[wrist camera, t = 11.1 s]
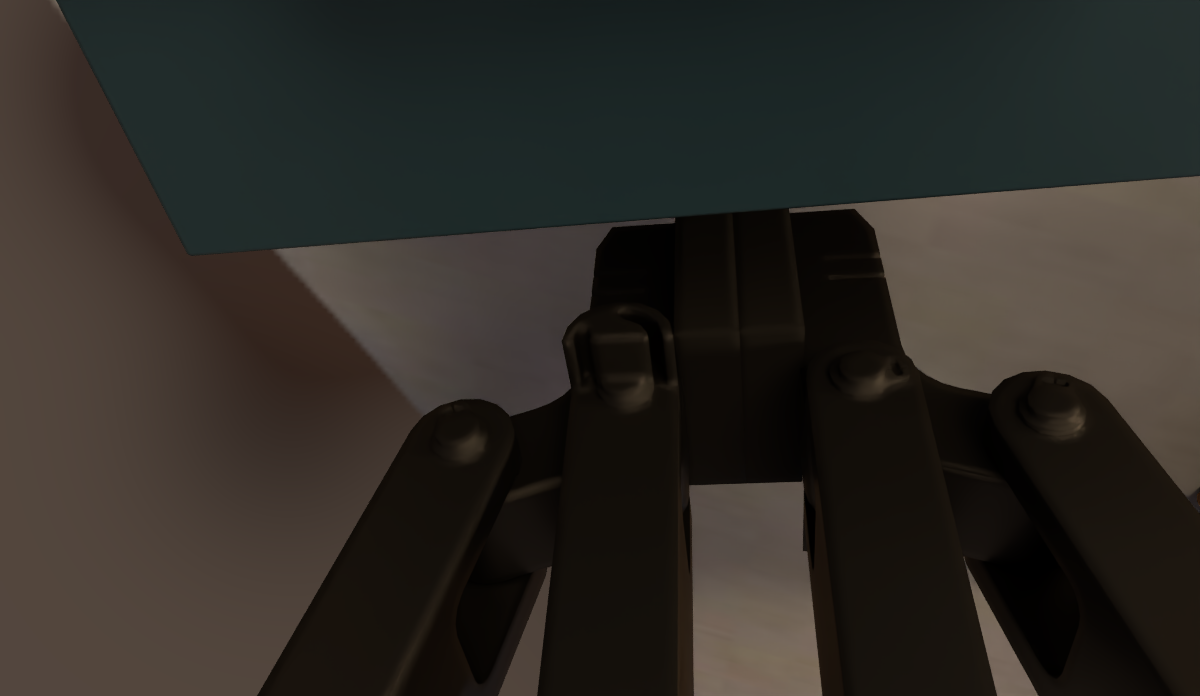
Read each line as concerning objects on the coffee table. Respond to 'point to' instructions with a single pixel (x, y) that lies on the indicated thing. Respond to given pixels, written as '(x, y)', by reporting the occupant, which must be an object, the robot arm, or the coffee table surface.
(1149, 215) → the coffee table surface
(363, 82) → the tissue box
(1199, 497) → the wooden block
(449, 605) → the robot arm
